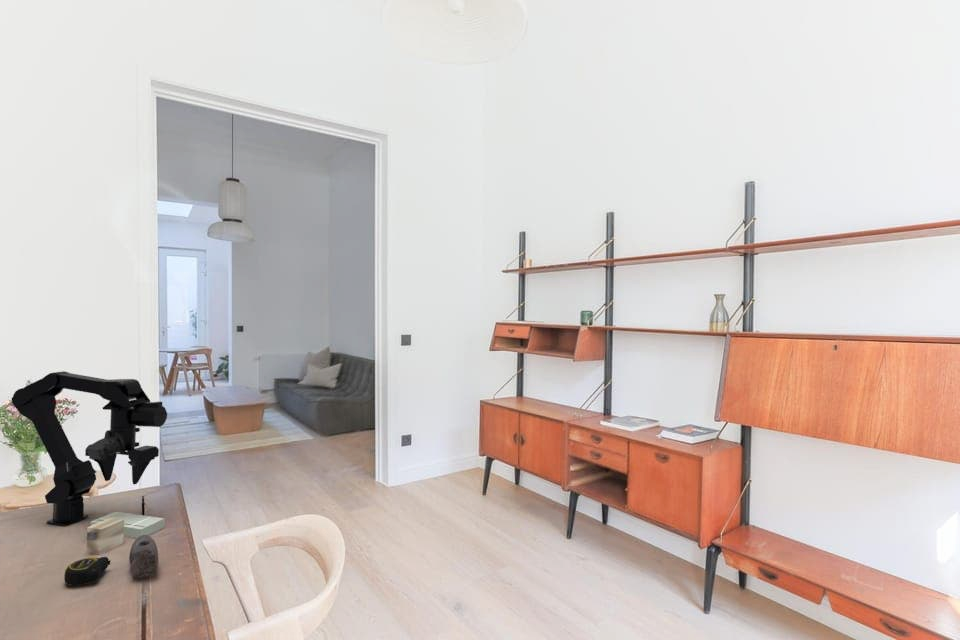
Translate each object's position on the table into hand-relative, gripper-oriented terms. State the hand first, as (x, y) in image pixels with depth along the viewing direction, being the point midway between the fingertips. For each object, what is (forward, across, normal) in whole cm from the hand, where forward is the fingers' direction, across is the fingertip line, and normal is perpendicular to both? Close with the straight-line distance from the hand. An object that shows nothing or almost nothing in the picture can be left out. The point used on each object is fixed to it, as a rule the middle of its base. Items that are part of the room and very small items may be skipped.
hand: (121, 482), depth 133 cm
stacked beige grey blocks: (+11, +10, -12) cm, 19 cm away
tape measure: (+11, +20, -25) cm, 34 cm away
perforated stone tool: (+11, +27, -18) cm, 34 cm away
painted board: (+11, +6, -3) cm, 13 cm away
